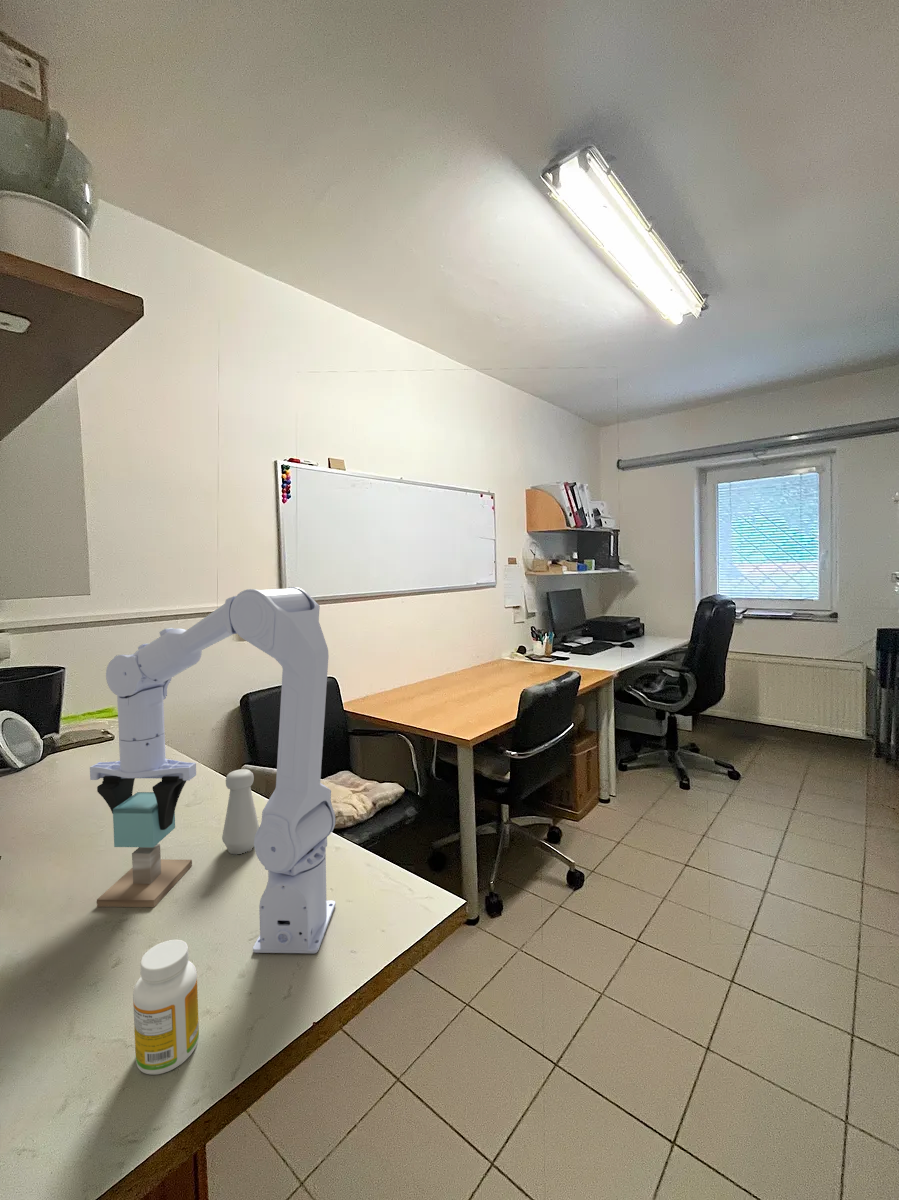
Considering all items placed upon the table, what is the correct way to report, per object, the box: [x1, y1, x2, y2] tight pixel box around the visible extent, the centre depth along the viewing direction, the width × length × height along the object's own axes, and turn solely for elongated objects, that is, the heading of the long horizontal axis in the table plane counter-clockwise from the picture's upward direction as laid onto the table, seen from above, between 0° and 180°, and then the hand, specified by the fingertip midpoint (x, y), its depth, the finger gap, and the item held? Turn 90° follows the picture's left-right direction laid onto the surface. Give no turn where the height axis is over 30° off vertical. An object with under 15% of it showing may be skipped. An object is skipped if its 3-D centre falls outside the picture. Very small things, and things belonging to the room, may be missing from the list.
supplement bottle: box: [132, 939, 200, 1075], centre depth 50 cm, size 5×5×10 cm
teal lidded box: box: [112, 791, 176, 848], centre depth 76 cm, size 6×6×6 cm
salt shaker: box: [221, 768, 260, 855], centre depth 86 cm, size 6×6×13 cm
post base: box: [96, 843, 193, 908], centre depth 76 cm, size 10×8×6 cm
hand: (145, 826), depth 76 cm, fingers closed on teal lidded box, 6 cm apart
